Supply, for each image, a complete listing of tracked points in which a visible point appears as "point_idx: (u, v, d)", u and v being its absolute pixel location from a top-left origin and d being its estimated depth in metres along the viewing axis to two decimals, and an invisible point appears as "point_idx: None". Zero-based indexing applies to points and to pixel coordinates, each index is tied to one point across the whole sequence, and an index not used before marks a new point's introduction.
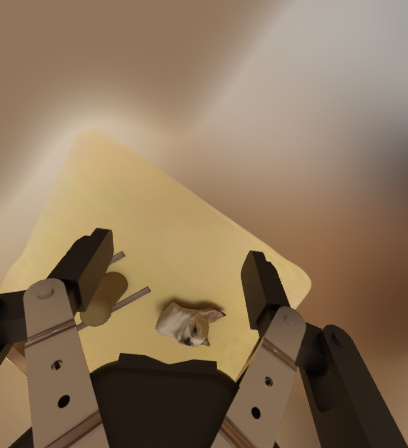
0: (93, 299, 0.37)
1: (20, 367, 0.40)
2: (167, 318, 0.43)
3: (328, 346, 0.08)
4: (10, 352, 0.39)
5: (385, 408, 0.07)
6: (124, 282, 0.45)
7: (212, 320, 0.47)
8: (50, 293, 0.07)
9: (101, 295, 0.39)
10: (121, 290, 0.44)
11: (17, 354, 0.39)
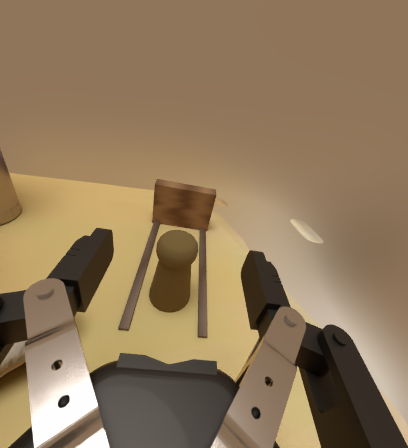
0: (195, 256, 0.25)
1: (173, 182, 0.42)
2: None
3: (328, 346, 0.08)
4: (191, 188, 0.41)
5: (385, 409, 0.07)
6: (164, 306, 0.28)
7: None
8: (49, 293, 0.07)
9: (186, 268, 0.26)
10: (161, 293, 0.28)
11: (186, 188, 0.41)
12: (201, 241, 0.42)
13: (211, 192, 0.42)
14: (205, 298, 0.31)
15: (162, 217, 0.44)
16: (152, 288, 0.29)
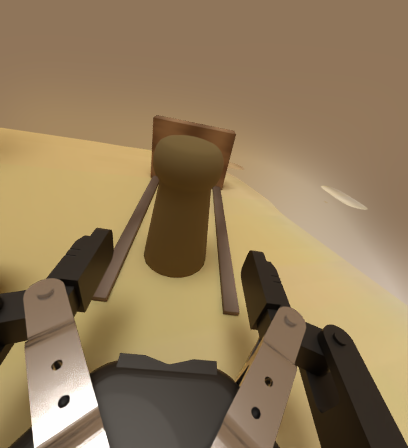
0: (219, 171, 0.15)
1: (178, 120, 0.31)
2: None
3: (328, 346, 0.08)
4: (202, 125, 0.31)
5: (385, 409, 0.07)
6: (167, 266, 0.18)
7: None
8: (50, 293, 0.07)
9: (204, 196, 0.16)
10: (163, 244, 0.17)
11: (195, 125, 0.30)
12: (216, 198, 0.31)
13: (229, 131, 0.31)
14: (229, 260, 0.21)
15: None
16: (148, 240, 0.18)
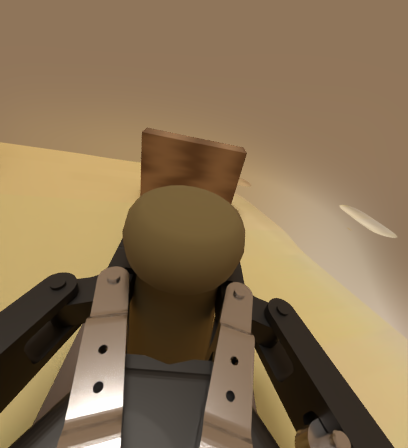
0: (240, 257, 0.08)
1: (174, 134, 0.25)
2: None
3: (270, 316, 0.09)
4: (204, 142, 0.25)
5: (327, 359, 0.08)
6: None
7: None
8: (116, 280, 0.08)
9: (211, 290, 0.09)
10: (144, 354, 0.11)
11: (196, 141, 0.24)
12: None
13: (238, 150, 0.25)
14: None
15: None
16: None
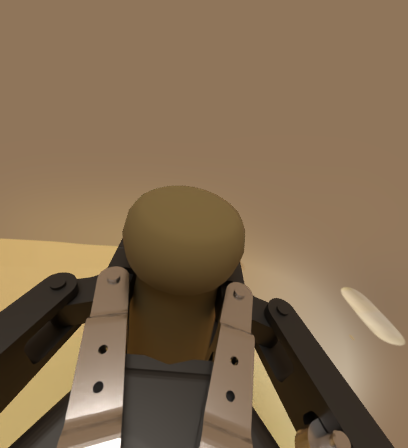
0: (240, 258, 0.08)
1: None
2: None
3: (270, 317, 0.09)
4: None
5: (327, 358, 0.08)
6: None
7: None
8: (116, 280, 0.08)
9: (211, 291, 0.09)
10: (144, 354, 0.11)
11: None
12: None
13: None
14: None
15: None
16: None
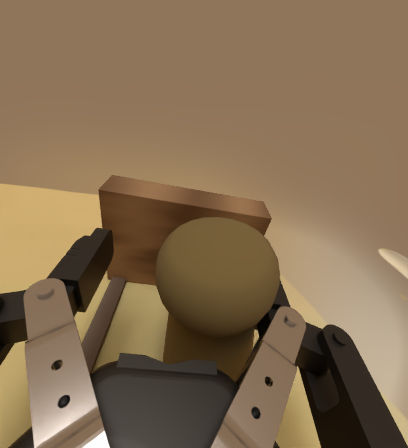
0: (276, 291, 0.08)
1: (155, 185, 0.16)
2: None
3: (328, 346, 0.08)
4: (202, 198, 0.15)
5: (384, 408, 0.07)
6: None
7: None
8: (50, 293, 0.07)
9: None
10: None
11: (189, 201, 0.15)
12: None
13: (257, 211, 0.15)
14: None
15: (130, 270, 0.18)
16: (165, 362, 0.12)
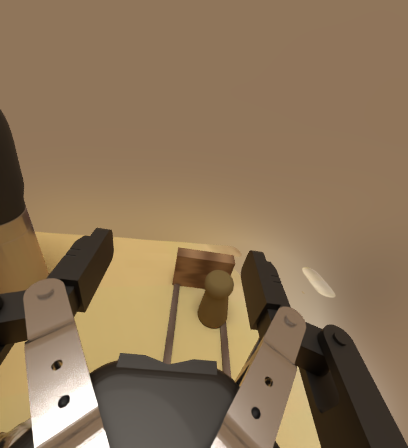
0: (232, 290, 0.36)
1: (194, 251, 0.44)
2: None
3: (328, 346, 0.08)
4: (211, 256, 0.43)
5: (385, 409, 0.07)
6: (210, 323, 0.39)
7: None
8: (50, 293, 0.07)
9: (226, 297, 0.37)
10: (208, 315, 0.39)
11: (206, 258, 0.43)
12: None
13: (230, 260, 0.43)
14: None
15: (182, 281, 0.46)
16: (200, 311, 0.40)
